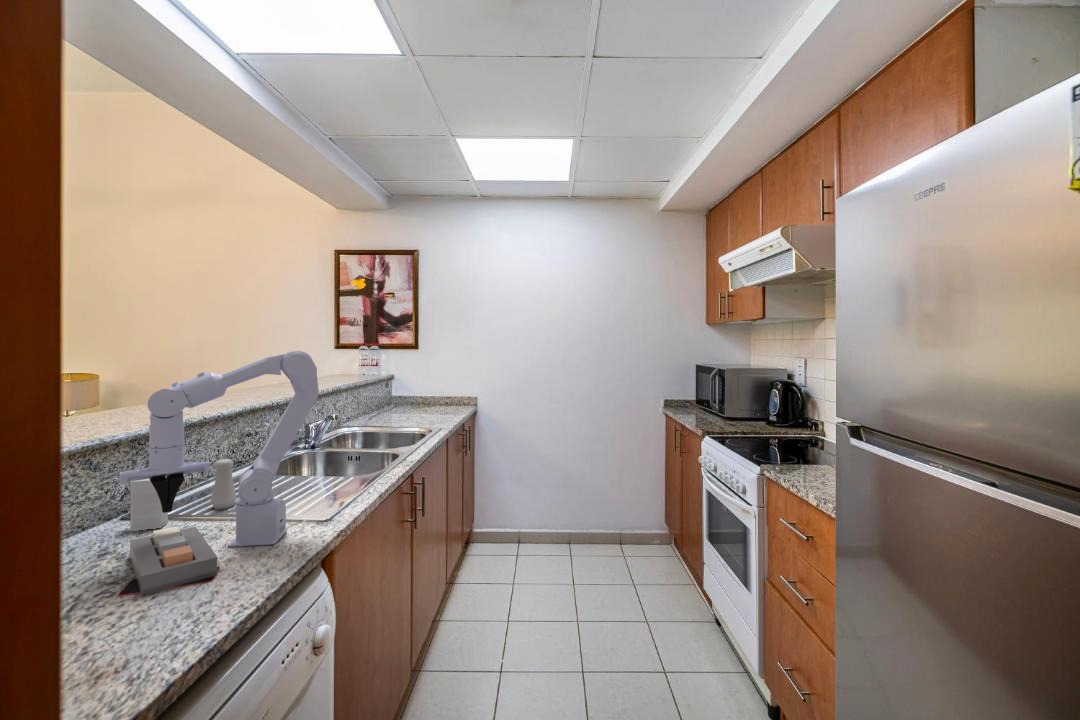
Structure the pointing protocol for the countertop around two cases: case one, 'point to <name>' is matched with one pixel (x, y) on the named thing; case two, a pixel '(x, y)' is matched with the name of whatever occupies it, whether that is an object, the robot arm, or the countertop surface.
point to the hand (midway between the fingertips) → (166, 511)
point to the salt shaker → (223, 485)
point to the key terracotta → (177, 556)
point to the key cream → (165, 534)
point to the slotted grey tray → (162, 578)
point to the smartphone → (133, 589)
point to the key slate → (171, 543)
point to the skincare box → (145, 506)
